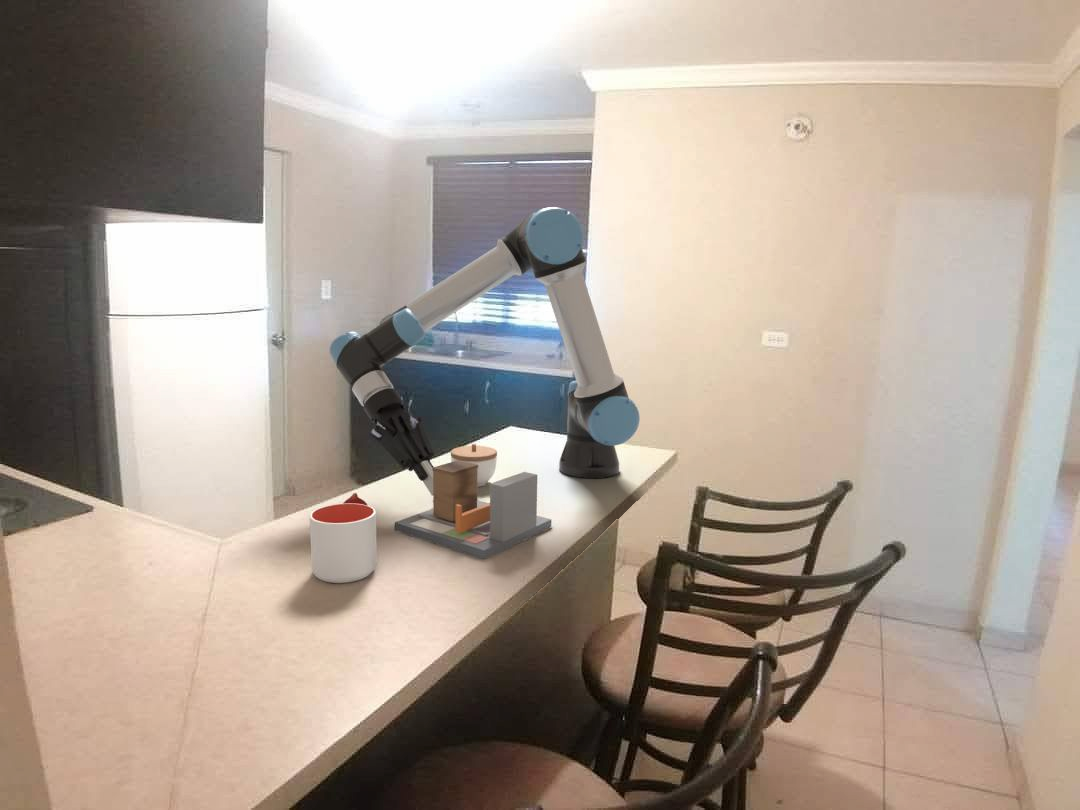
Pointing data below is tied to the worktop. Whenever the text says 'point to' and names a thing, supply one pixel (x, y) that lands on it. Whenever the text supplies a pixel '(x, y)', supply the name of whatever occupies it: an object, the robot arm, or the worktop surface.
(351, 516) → the cup
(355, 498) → the onion
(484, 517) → the orange bracket
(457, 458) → the lidded jar
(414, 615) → the worktop surface
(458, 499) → the brown rectangular block
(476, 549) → the base
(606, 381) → the robot arm
